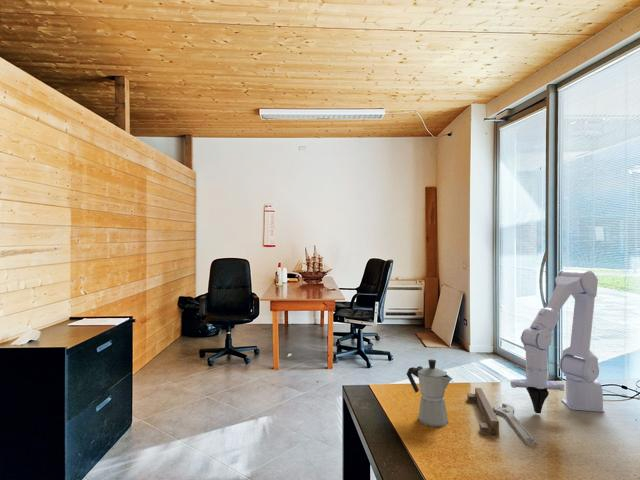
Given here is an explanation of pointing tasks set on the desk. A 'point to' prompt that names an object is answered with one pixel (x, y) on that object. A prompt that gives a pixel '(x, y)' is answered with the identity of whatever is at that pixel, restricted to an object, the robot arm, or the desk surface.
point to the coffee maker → (431, 393)
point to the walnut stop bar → (485, 413)
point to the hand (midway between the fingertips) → (537, 412)
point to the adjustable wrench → (514, 423)
